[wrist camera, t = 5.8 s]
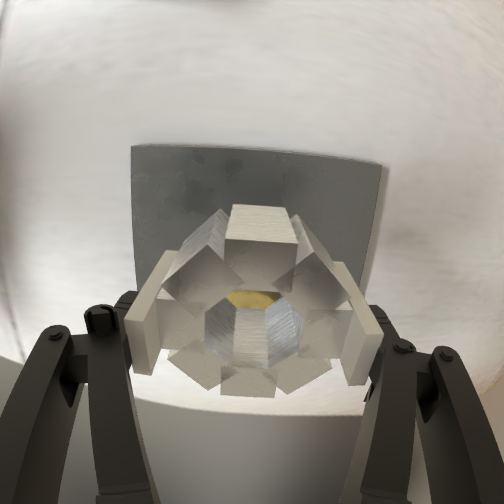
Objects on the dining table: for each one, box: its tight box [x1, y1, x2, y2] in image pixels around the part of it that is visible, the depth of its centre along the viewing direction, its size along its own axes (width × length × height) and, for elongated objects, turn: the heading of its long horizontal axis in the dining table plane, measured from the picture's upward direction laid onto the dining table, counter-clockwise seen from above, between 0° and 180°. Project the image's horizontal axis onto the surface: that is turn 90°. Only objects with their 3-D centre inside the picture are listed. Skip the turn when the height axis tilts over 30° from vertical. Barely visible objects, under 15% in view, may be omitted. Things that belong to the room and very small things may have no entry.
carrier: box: [131, 145, 382, 309], centre depth 28 cm, size 22×20×6 cm
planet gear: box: [156, 204, 354, 398], centre depth 15 cm, size 8×8×5 cm
